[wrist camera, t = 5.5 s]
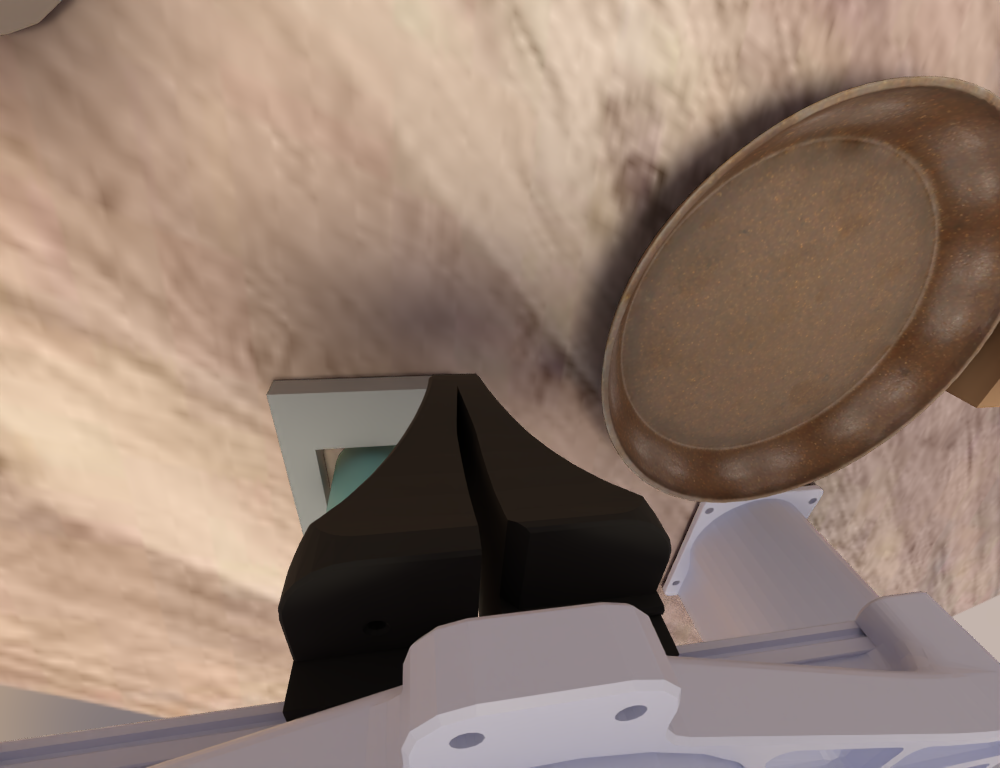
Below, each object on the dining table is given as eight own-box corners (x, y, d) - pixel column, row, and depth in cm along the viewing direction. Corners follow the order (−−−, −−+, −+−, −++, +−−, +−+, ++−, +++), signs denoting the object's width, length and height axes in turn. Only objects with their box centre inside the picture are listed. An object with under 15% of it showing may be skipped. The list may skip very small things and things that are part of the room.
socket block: (450, 532, 24) (452, 547, 23) (314, 545, 23) (310, 562, 22) (451, 374, 19) (453, 387, 18) (273, 380, 17) (266, 394, 17)
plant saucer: (842, -67, 13) (946, -106, 10) (1018, 257, 21) (1103, 280, 18) (497, 376, 19) (510, 419, 17) (729, 499, 27) (762, 540, 25)
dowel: (416, 492, 22) (418, 607, 17) (341, 498, 21) (319, 619, 16) (413, 436, 20) (415, 547, 15) (330, 440, 19) (302, 558, 14)
